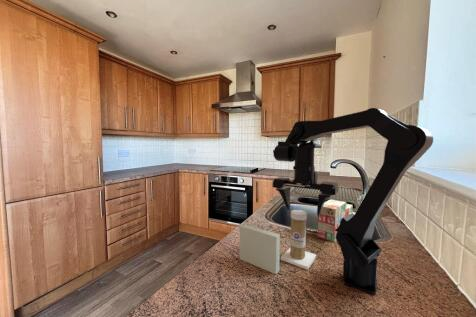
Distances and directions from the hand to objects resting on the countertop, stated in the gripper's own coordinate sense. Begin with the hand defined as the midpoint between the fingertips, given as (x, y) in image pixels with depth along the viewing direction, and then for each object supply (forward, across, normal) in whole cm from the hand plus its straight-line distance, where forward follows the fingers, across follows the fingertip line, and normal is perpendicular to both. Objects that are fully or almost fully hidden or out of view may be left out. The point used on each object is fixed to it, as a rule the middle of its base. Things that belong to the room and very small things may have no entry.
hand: (302, 212), depth 61 cm
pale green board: (+13, +8, +13) cm, 20 cm away
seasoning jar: (+12, 0, +4) cm, 13 cm away
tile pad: (+13, 0, +4) cm, 14 cm away
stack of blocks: (+13, -6, -25) cm, 29 cm away
